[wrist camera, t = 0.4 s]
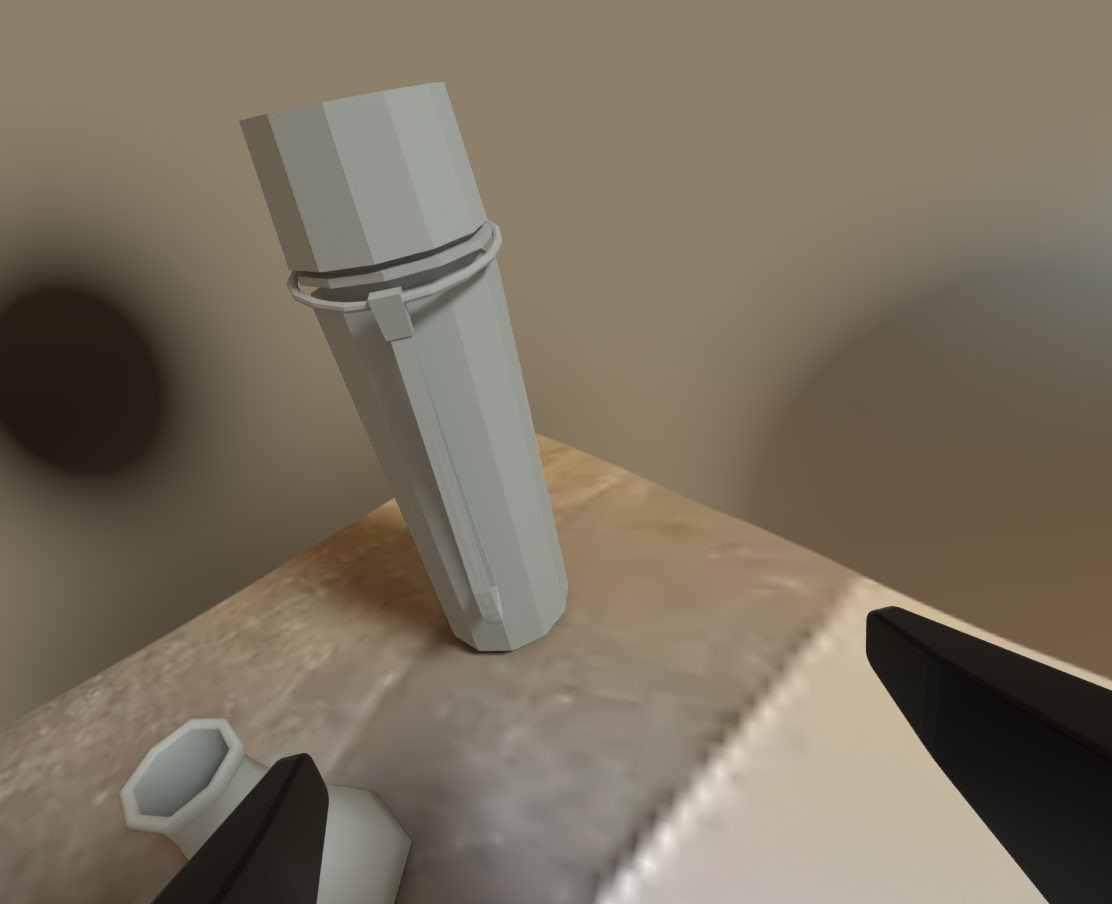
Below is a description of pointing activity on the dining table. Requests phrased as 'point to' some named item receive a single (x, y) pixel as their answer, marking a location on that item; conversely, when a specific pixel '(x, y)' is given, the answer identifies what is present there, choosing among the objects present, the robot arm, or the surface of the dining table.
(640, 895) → the dining table surface
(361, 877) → the flask
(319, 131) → the water bottle
